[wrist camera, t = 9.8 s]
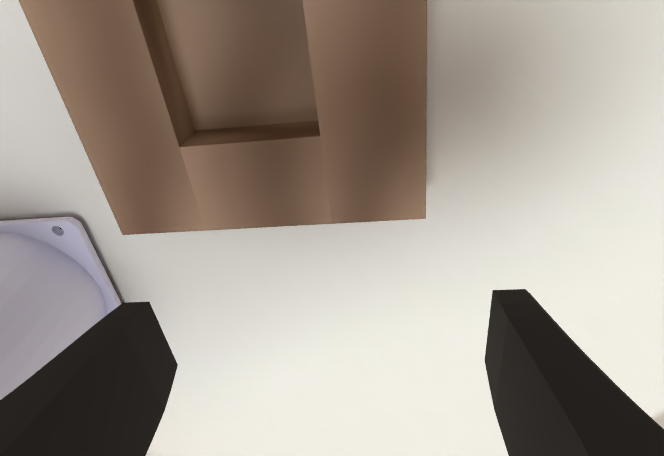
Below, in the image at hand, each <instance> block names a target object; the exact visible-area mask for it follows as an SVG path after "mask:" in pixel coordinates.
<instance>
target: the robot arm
mask: <svg viewBox="0 0 664 456" xmlns="http://www.w3.org/2000/svg"><path fill="white" fill-rule="evenodd" d="M59 227H60V228H62V230H61V229H59ZM485 364H486V370H487V375H488V380H489V385H490V390H491V395H492V400H493V405H494V410H495V413H496V416H497V419H498V423H499V426H500V429H501V432H502V435H503V439H504V442H505V445H506V448H507V451H508V455H509V456H664V429H663V428H662V427H661V426H659V425H658V424H657V423H656V422H655V421H654V420H653V419H652V418H651V417H650V416H649V415H648V414H646V413H645V412H644V411H643V410H642V409H641V408H640V407H639V406H638V405H637V404H636V403H635V402H634V401H632V400H631V399H630V398H629V397H628V396H627V395H626V394H625V393H624V392H623V391H622V390H621V389H620V388H619V387H618V386H617V385H616V384H615V383H614V382H613V381H612V380H611V379H610V378H609V377H608V376H607V375H606V374H605V373H604V372H603V371H602V370H601V369H600V368H599V367H598V366H597V365H596V364H595V363H594V362H593V361H592V360H591V359H590V358H589V357H588V356H587V355H586V354H585V353H584V352H583V351H582V350H581V349H580V348H579V347H578V346H577V345H576V344H575V342H574V341H573V340H572V339H571V338H570V337H569V336H568V335H567V334H566V333H565V332H564V331H563V330H562V328H561V327H560V326H559V325H558V324H557V323H556V322H555V321H554V320H553V319H552V318H551V316H550V315H549V314H548V313H547V312H546V311H545V310H544V309H543V308H542V306H541V305H540V304H539V303H538V302H537V301H536V300H535V299H534V297H533V296H532V295H531V294H530V293H529V292H528V291H527V290H525V289H517V290H493V293H492V301H491V310H490V319H489V328H488V337H487V345H486V354H485ZM176 369H177V363H176V360H175V358H174V356H173V354H172V351H171V349H170V347H169V345H168V343H167V340H166V338H165V336H164V334H163V331H162V329H161V327H160V325H159V322H158V320H157V318H156V316H155V314H154V311H153V309H152V307H151V305H150V302H131V303H122V304H121V302H120V300H119V298H118V296H117V294H116V291H115V289H114V287H113V285H112V283H111V281H110V279H109V277H108V275H107V273H106V271H105V269H104V267H103V265H102V263H101V261H100V259H99V257H98V255H97V253H96V251H95V249H94V247H93V245H92V243H91V241H90V239H89V237H88V235H87V233H86V231H85V229H84V227H83V225H82V224H81V222H80V221H78V220H77V219H75V218H73V217H54V218H38V219H21V220H5V221H0V456H145V455H146V453H147V451H148V449H149V446H150V444H151V441H152V439H153V437H154V434H155V432H156V430H157V427H158V425H159V423H160V420H161V418H162V415H163V413H164V411H165V407H166V404H167V401H168V398H169V394H170V391H171V388H172V384H173V380H174V377H175V373H176Z"/></svg>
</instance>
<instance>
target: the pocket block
mask: <svg viewBox="0 0 664 456" xmlns="http://www.w3.org/2000/svg"><path fill="white" fill-rule="evenodd" d="M19 2H20V4H21V7H22V9H23V11H24V13H25V16H26V18H27V20H28V22H29V25H30V27H31V29H32V31H33V34H34V36H35V38H36V40H37V43H38V45H39V47H40V49H41V52H42V54H43V56H44V58H45V61H46V63H47V65H48V68H49V70H50V72H51V74H52V77H53V79H54V81H55V83H56V86H57V88H58V90H59V92H60V95H61V97H62V99H63V101H64V104H65V106H66V108H67V110H68V113H69V115H70V117H71V119H72V122H73V124H74V126H75V128H76V131H77V133H78V135H79V137H80V140H81V142H82V144H83V146H84V149H85V151H86V153H87V155H88V158H89V160H90V162H91V164H92V167H93V169H94V171H95V173H96V176H97V178H98V180H99V182H100V185H101V187H102V189H103V192H104V194H105V196H106V198H107V201H108V203H109V205H110V207H111V210H112V212H113V214H114V216H115V219H116V221H117V223H118V225H119V228H120V230H121V232H122V234H123V235H129V234H147V233H166V232H185V231H203V230H222V229H240V228H259V227H278V226H296V225H315V224H334V223H352V222H371V221H389V220H408V219H426V61H427V0H19Z"/></svg>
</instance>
